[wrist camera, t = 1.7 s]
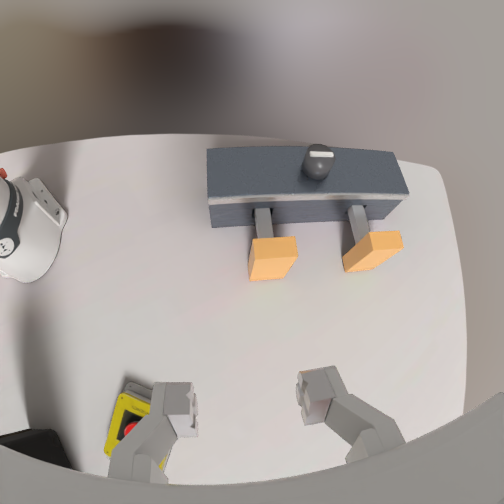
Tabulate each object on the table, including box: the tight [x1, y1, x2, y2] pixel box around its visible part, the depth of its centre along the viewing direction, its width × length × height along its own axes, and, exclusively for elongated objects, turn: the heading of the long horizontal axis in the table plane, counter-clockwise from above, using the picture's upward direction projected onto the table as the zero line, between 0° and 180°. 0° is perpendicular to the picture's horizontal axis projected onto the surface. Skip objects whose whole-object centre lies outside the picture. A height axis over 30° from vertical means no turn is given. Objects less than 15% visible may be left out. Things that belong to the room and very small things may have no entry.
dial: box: [302, 144, 335, 180], centre depth 37 cm, size 4×4×3 cm
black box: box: [0, 429, 72, 469], centre depth 17 cm, size 16×9×25 cm, turn 20°
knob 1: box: [248, 208, 298, 281], centre depth 40 cm, size 14×5×10 cm, turn 6°
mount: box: [207, 146, 409, 228], centre depth 43 cm, size 8×30×10 cm, turn 96°
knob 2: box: [342, 205, 404, 272], centre depth 41 cm, size 14×5×10 cm, turn 6°
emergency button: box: [104, 382, 172, 473], centre depth 31 cm, size 9×4×15 cm
